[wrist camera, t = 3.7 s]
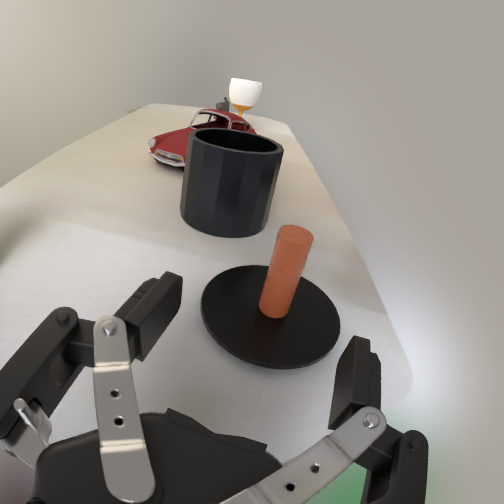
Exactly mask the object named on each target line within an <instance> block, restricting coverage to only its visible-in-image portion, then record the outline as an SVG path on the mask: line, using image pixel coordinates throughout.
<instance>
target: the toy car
mask: <svg viewBox="0 0 504 504" xmlns="http://www.w3.org/2000/svg"><path fill="white" fill-rule="evenodd" d="M197 114H209V115H210V117H209V120H208V122H207V123H203V124H198V125H194V126H191V124H192V122H193V121H194V119H195V117H196V116H197ZM212 115H213V116H216V120H215V121H210V119H211V117H212ZM225 117H226V118H227V119H229V120H227V119H226V118H225ZM209 121H210V122H209ZM238 122H239V123H238ZM240 122H242V123H240ZM243 123H244V124H243ZM246 124H247V125H246ZM200 128H224V129H233V130H239V131H245V132H249V133H253V134H256V132H255V130H254V129H253V128H252V126H251V125H250V124H249V123H248V122H247V121H245V120H244V119H243V118H241V117H239V116H237V115H235V114H233V113H230V112H226V111H221V110H215V109H203V110H200V111H198V112H197V113H196V114H195V116H194V118H193V119H192V121H191V123H190V124H189V127H188V128H184V129H180V130H176V131H172V132H168V133H165V134H162V135H159V136H156V137H153V138H152V139H150V140H149V146H150V149H151V152H152V153H151V152H150V153H149V155H151V156H153V157H154V159H155V160H156V161H157V162H163V163H167V164H170V165H173V166H181V167H185V159H186V151H187V144H188V136H189V134H190V132H191V131H193V130H197V129H200Z"/></svg>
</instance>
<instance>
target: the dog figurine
mask: <svg viewBox="0 0 504 504" xmlns="http://www.w3.org/2000/svg"><path fill="white" fill-rule="evenodd" d="M224 99H225V102H223V103H217V104H216V106H217V107H216V108H217V110H221V111H226V112H229V102H228V101H227V98H226V97H225V98H224ZM214 118H216V116H215V117H214ZM225 118H226V117H225Z"/></svg>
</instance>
